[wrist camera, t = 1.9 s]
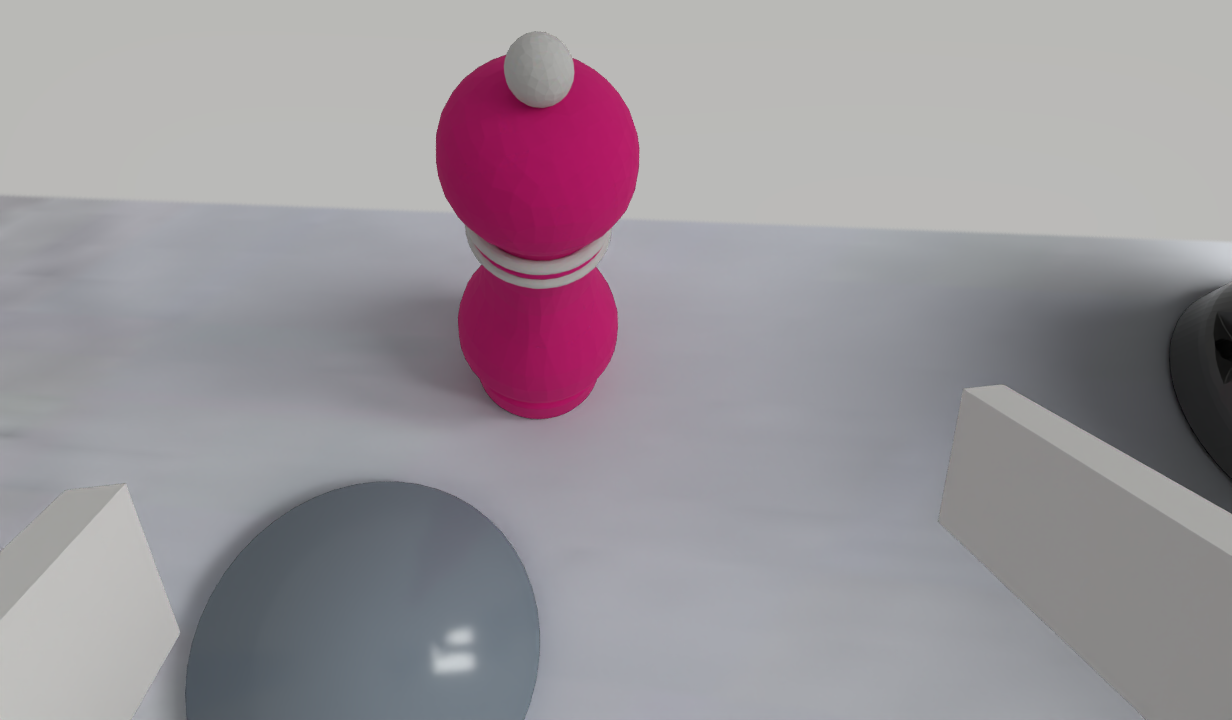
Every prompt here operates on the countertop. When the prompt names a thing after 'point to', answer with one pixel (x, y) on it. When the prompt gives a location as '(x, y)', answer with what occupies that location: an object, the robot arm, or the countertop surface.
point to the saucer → (369, 616)
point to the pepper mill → (537, 220)
